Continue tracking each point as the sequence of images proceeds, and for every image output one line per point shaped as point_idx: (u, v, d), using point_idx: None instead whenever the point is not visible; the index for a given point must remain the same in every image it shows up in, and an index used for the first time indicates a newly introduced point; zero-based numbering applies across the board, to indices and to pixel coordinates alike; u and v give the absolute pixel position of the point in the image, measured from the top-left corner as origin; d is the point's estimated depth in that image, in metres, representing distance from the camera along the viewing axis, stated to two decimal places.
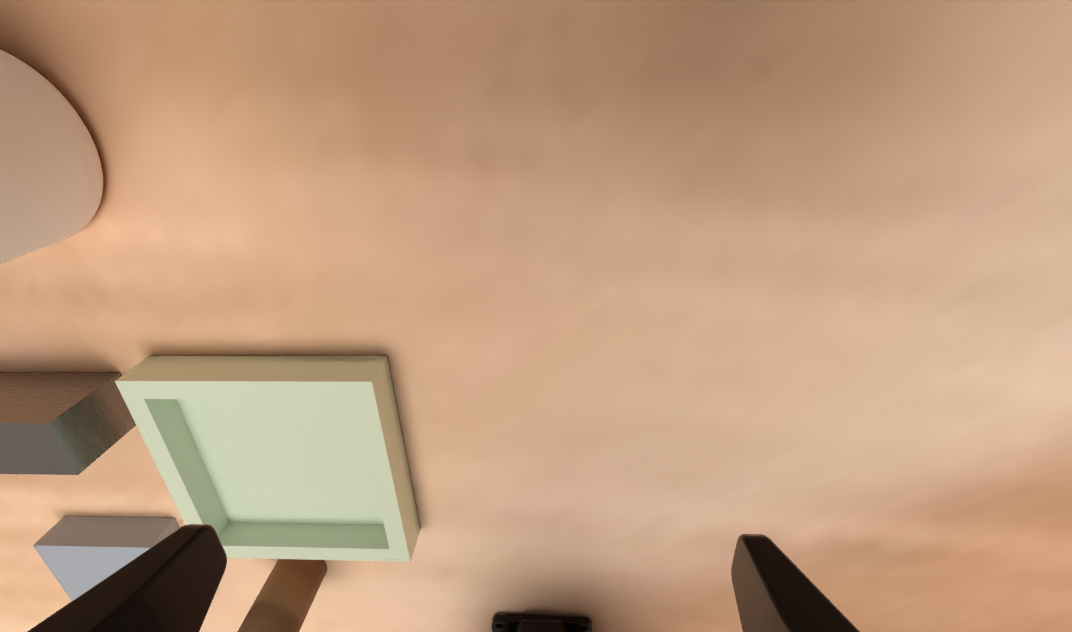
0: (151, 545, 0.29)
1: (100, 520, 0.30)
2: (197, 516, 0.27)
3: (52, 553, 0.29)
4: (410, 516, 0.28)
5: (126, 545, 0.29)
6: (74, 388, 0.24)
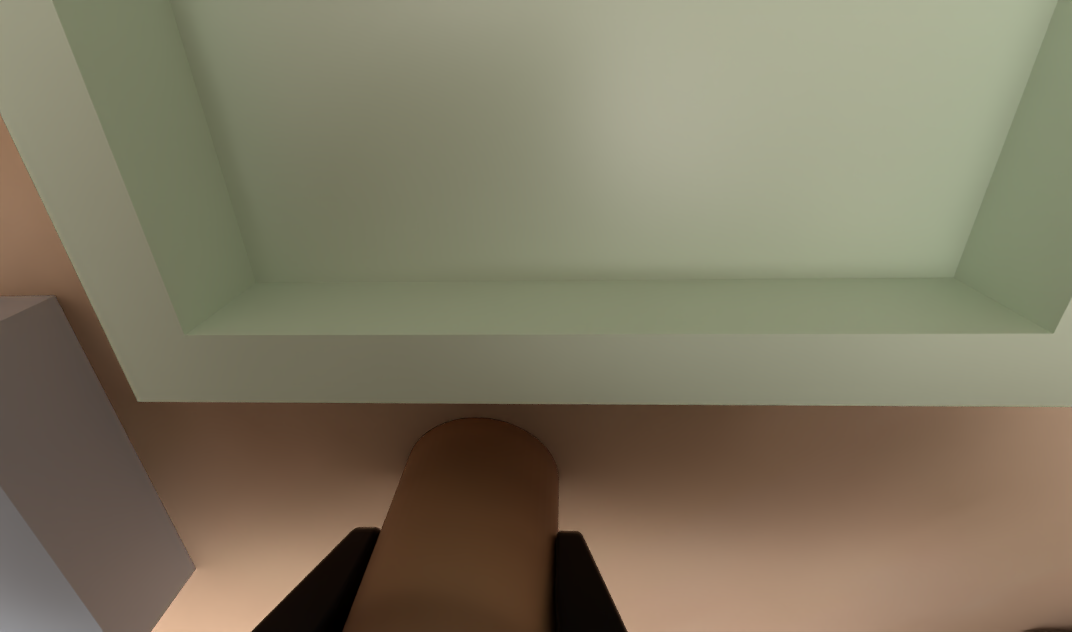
0: None
1: None
2: (97, 140, 0.05)
3: None
4: None
5: None
6: None
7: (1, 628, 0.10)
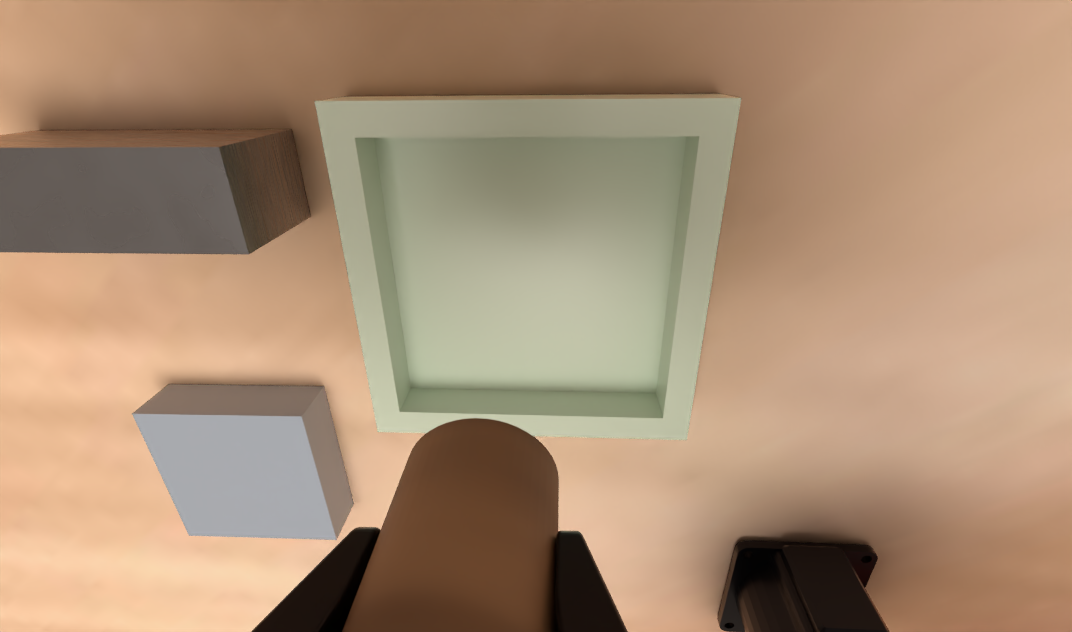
0: (303, 414, 0.20)
1: (220, 388, 0.22)
2: (388, 361, 0.18)
3: (158, 427, 0.20)
4: None
5: (267, 414, 0.20)
6: (234, 134, 0.16)
7: (287, 521, 0.23)
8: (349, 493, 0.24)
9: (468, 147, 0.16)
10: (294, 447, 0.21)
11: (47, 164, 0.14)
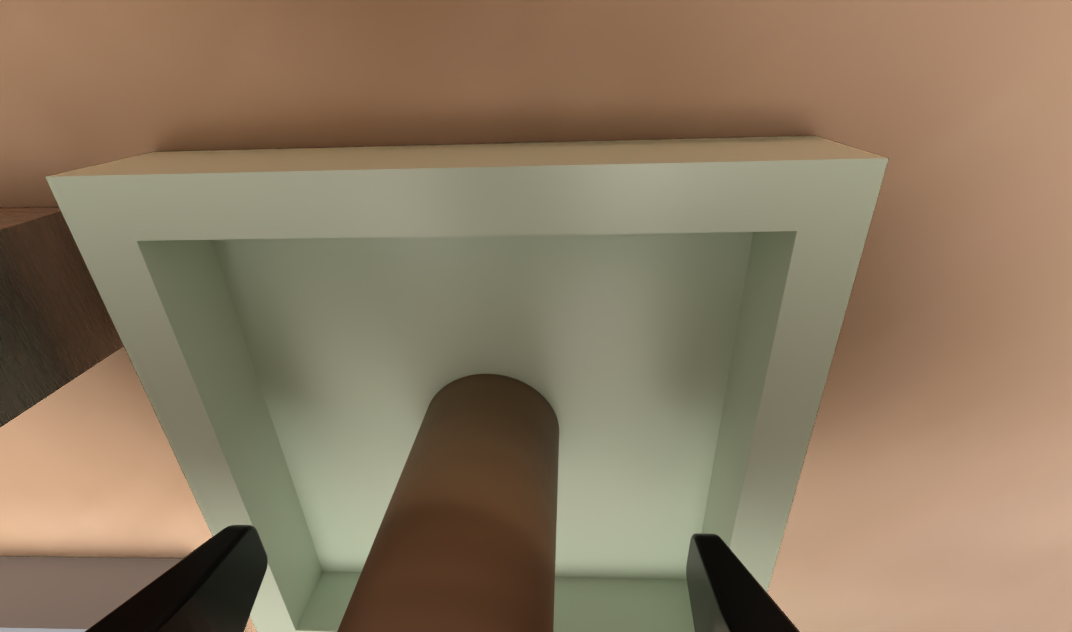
0: None
1: (49, 565, 0.15)
2: None
3: None
4: None
5: None
6: None
7: None
8: None
9: (370, 237, 0.09)
10: None
11: None
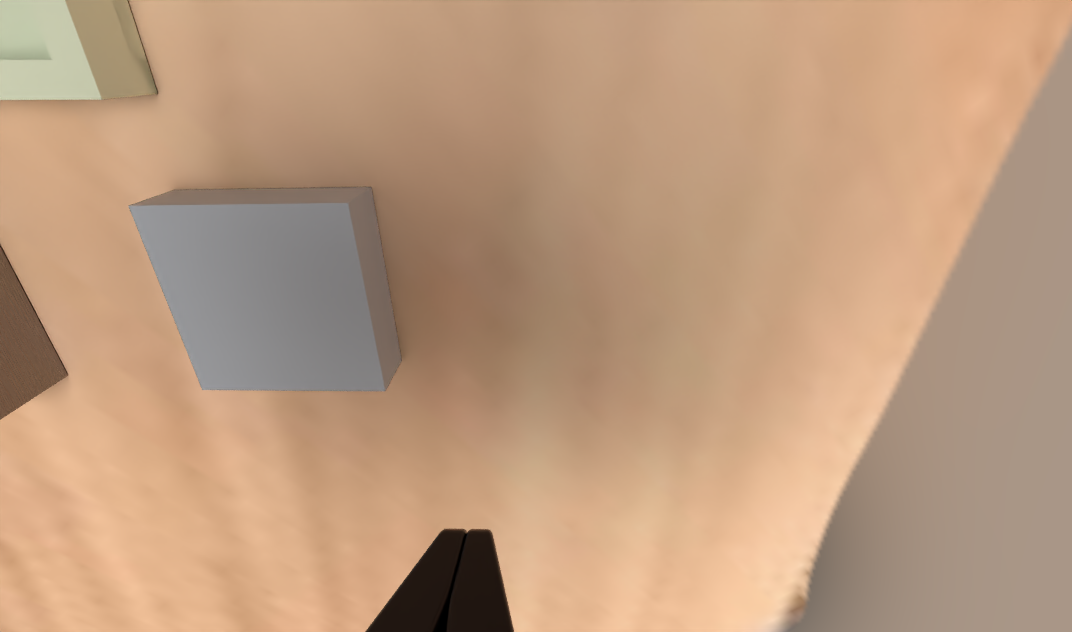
0: None
1: None
2: None
3: (212, 370, 0.18)
4: None
5: (148, 248, 0.16)
6: None
7: (328, 265, 0.16)
8: (346, 188, 0.17)
9: None
10: (184, 225, 0.16)
11: None
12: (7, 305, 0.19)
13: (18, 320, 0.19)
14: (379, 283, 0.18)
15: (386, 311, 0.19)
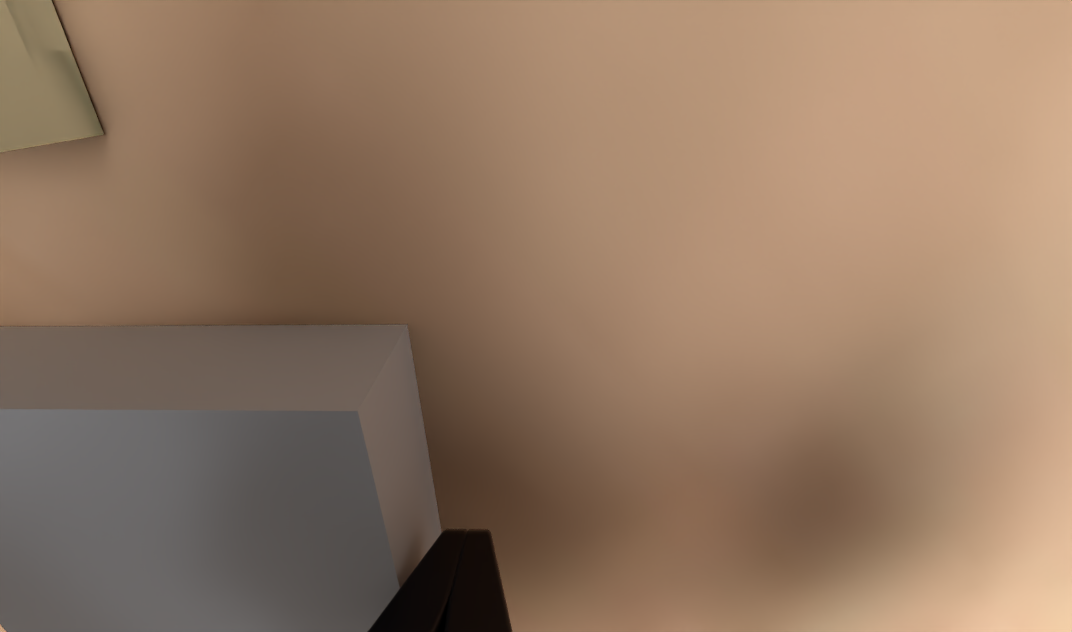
0: None
1: None
2: None
3: None
4: None
5: None
6: None
7: (310, 527, 0.07)
8: (351, 331, 0.08)
9: None
10: None
11: None
12: None
13: None
14: (420, 515, 0.09)
15: None
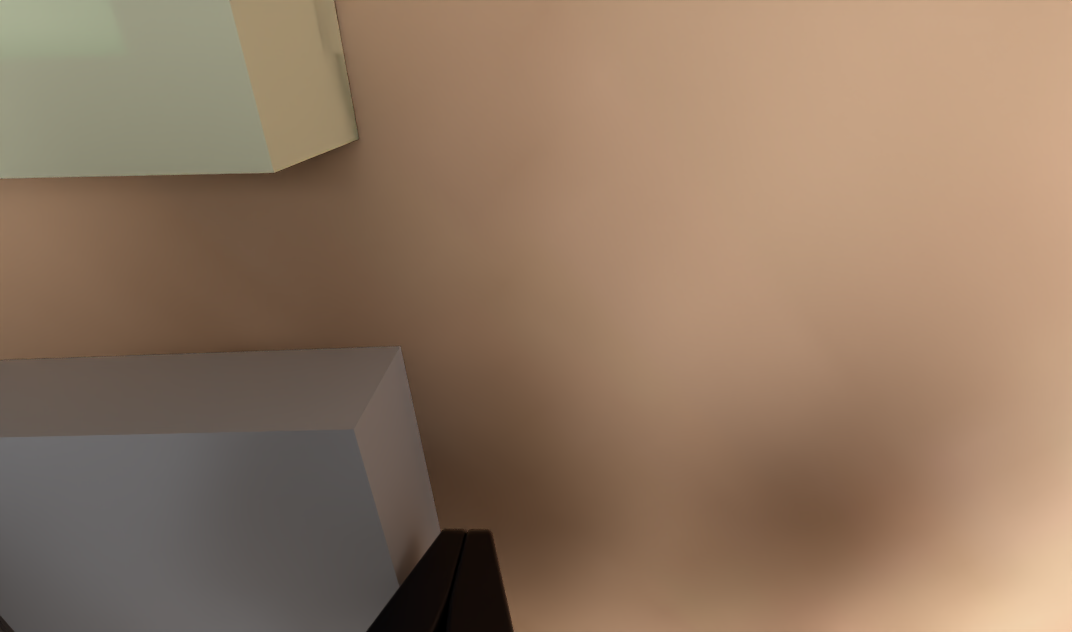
0: None
1: None
2: None
3: None
4: None
5: None
6: None
7: (313, 541, 0.07)
8: (349, 350, 0.08)
9: None
10: None
11: None
12: None
13: None
14: (422, 526, 0.09)
15: None
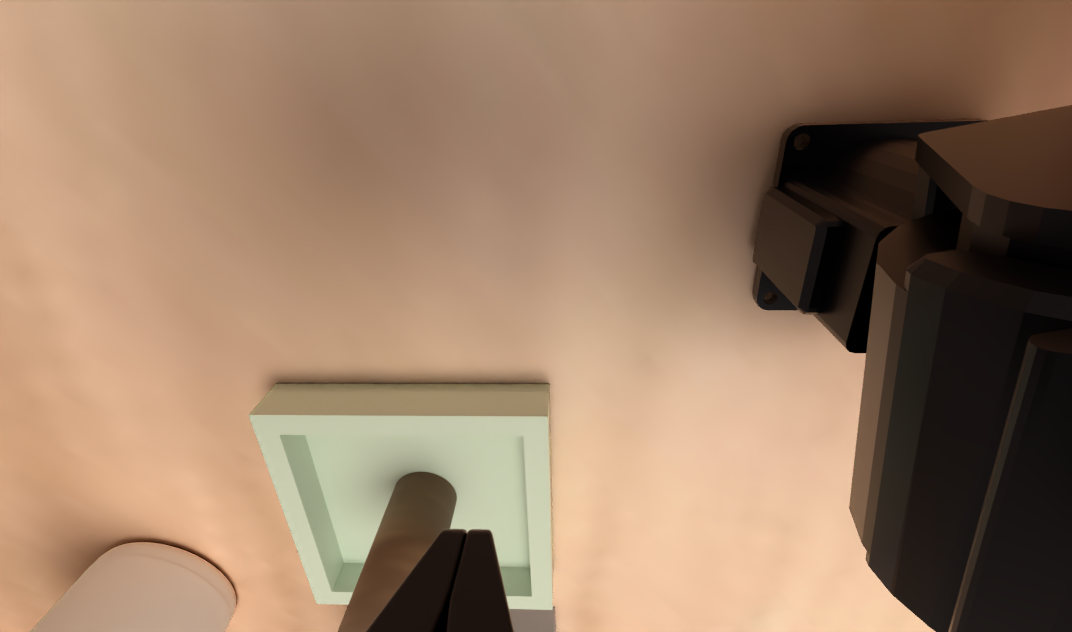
0: None
1: None
2: None
3: None
4: (495, 397, 0.21)
5: None
6: None
7: None
8: None
9: (341, 522, 0.25)
10: None
11: None
12: None
13: None
14: None
15: None
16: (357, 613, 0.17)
